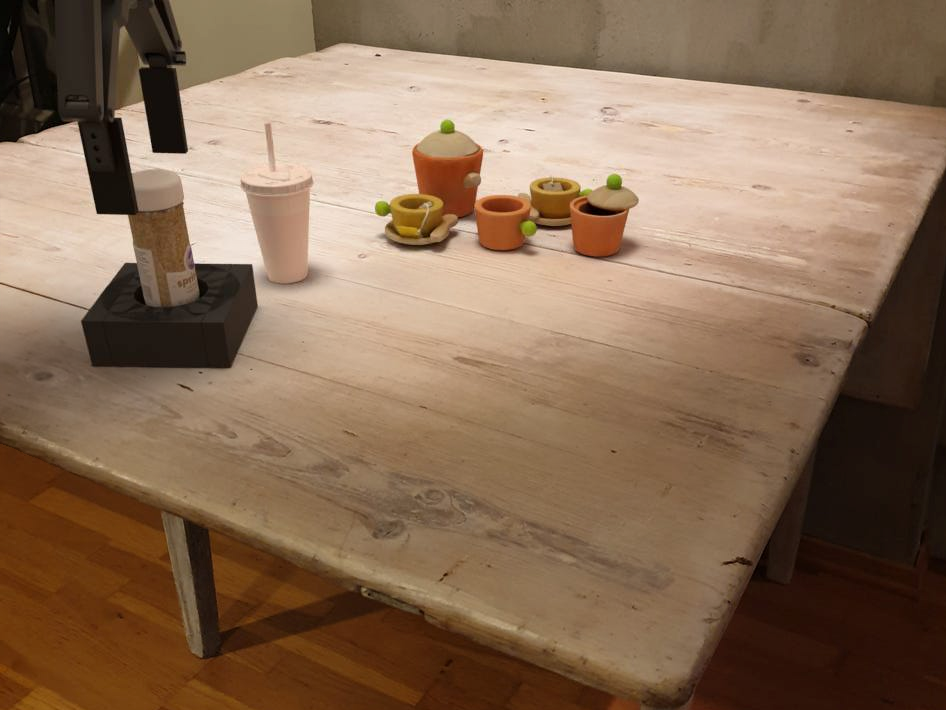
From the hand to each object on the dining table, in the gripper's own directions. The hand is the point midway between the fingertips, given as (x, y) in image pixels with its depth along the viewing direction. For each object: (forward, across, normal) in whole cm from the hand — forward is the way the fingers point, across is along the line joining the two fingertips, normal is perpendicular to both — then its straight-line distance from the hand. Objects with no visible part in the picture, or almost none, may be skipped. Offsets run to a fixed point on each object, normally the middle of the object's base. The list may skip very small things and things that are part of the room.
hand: (146, 180), depth 74 cm
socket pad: (+13, 0, 0) cm, 13 cm away
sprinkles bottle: (+13, 0, 0) cm, 13 cm away
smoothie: (+13, +12, -8) cm, 19 cm away
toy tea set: (+13, +24, -28) cm, 39 cm away
